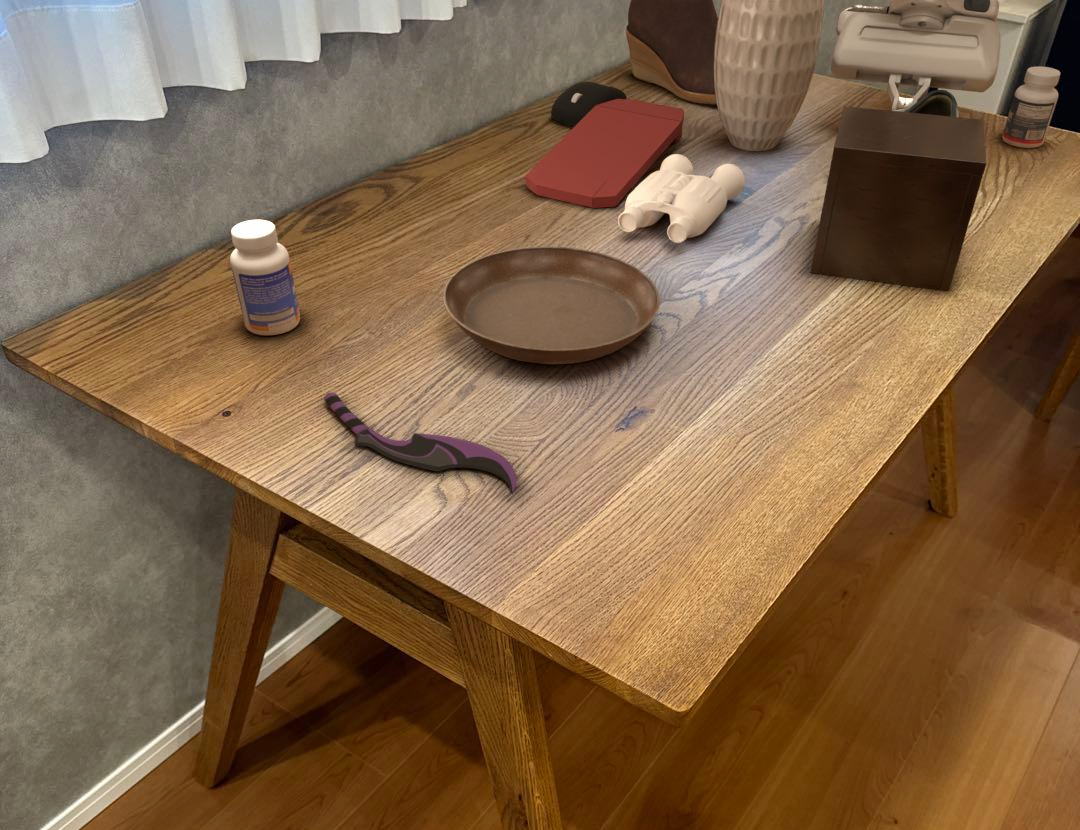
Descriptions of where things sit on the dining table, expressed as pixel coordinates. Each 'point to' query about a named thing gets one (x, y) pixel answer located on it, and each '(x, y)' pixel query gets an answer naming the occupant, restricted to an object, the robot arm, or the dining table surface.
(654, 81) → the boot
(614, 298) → the plant saucer
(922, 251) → the dark wooden box
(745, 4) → the vase
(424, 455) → the knife
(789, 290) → the dining table surface
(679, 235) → the binoculars
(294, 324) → the pill bottle
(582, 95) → the computer mouse
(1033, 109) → the pill bottle
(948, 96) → the boat shoe
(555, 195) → the carton
